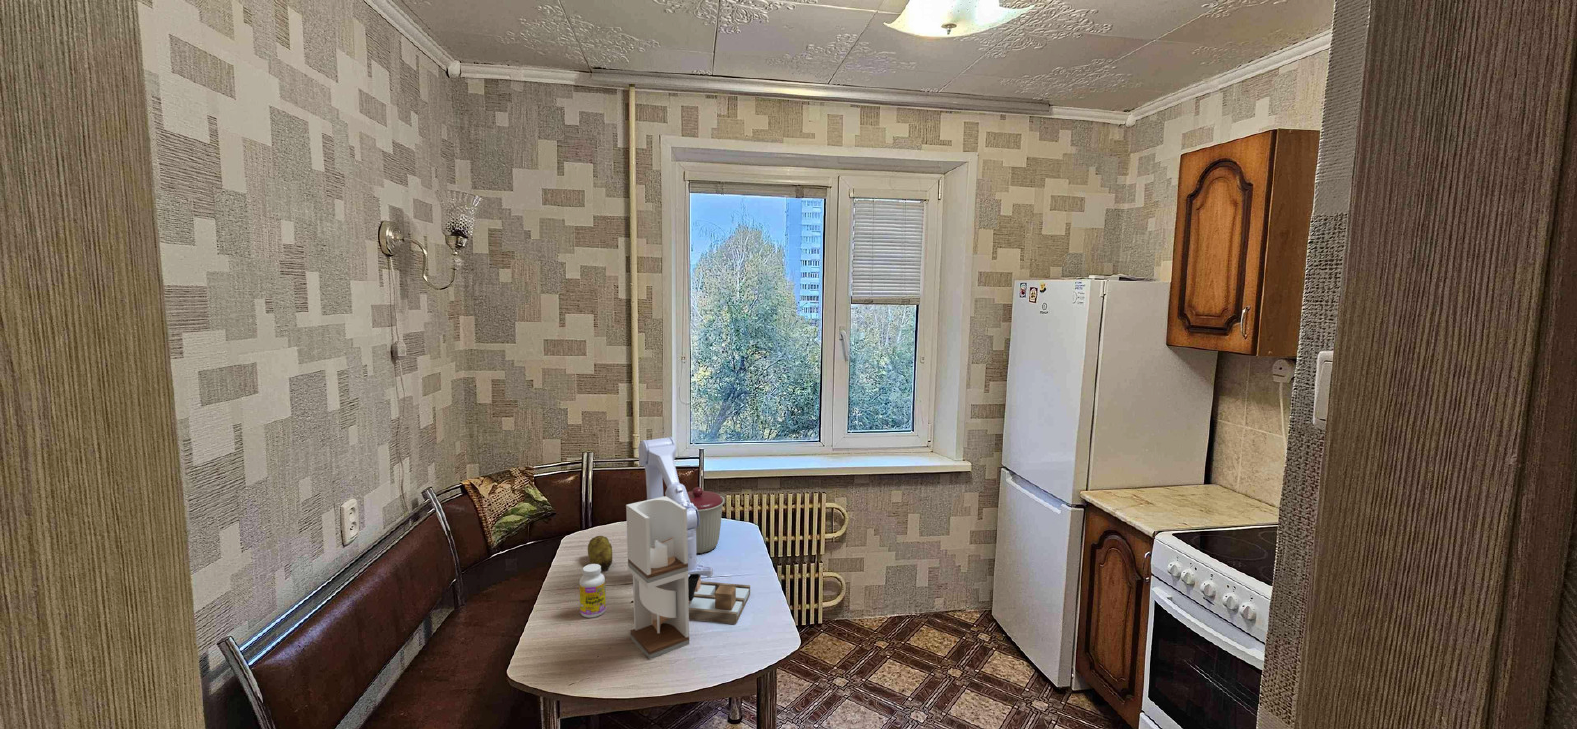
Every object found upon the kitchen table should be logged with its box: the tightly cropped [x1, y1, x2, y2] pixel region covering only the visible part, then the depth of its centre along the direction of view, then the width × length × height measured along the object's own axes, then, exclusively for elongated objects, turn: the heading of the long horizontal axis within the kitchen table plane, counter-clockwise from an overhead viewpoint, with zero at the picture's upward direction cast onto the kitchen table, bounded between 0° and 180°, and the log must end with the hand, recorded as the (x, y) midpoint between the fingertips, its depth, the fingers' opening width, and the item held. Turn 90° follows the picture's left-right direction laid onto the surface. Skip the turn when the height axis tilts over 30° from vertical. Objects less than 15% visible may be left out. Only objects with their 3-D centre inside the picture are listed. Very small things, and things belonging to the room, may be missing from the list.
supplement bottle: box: [578, 563, 607, 618], centre depth 167 cm, size 7×7×13 cm
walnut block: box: [715, 585, 736, 611], centre depth 166 cm, size 4×4×4 cm
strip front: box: [688, 588, 742, 616], centre depth 167 cm, size 16×6×5 cm, turn 80°
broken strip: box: [694, 575, 749, 603], centre depth 175 cm, size 16×6×6 cm, turn 80°
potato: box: [587, 535, 613, 571], centre depth 197 cm, size 8×13×8 cm, turn 11°
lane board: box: [689, 580, 751, 625], centre depth 172 cm, size 22×16×3 cm
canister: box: [687, 486, 726, 554], centre depth 209 cm, size 18×18×21 cm
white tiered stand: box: [625, 495, 690, 660], centre depth 152 cm, size 11×11×35 cm
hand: (686, 599), depth 168 cm, fingers closed on strip front, 2 cm apart
